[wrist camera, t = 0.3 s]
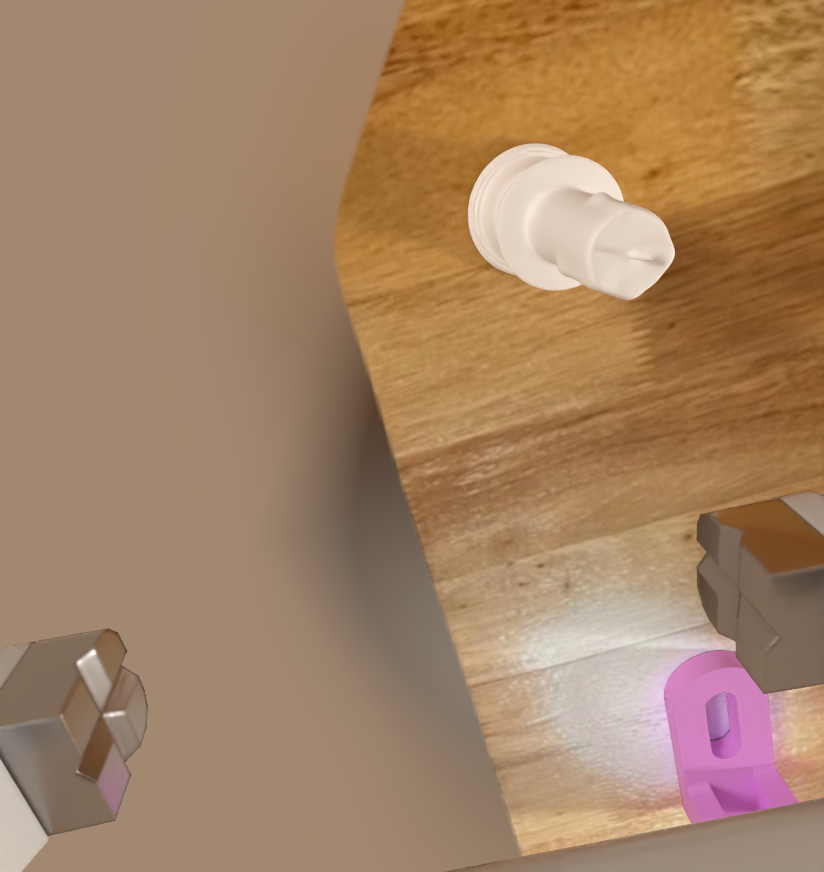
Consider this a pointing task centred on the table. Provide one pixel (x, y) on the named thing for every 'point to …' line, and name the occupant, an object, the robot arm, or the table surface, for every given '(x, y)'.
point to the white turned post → (565, 224)
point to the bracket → (722, 740)
